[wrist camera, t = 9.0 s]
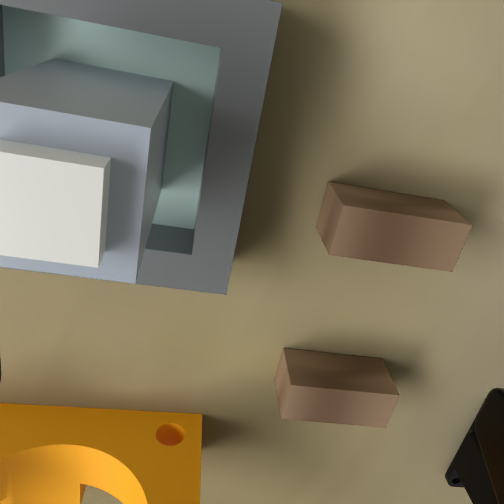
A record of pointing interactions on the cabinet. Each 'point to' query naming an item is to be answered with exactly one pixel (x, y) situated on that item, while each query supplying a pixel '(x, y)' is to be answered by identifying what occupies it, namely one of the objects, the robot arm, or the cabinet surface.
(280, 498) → the cabinet surface
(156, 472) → the pipe clamp
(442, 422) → the cabinet surface
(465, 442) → the robot arm
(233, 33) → the port
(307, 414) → the brown blocks
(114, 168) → the plug
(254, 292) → the cabinet surface
